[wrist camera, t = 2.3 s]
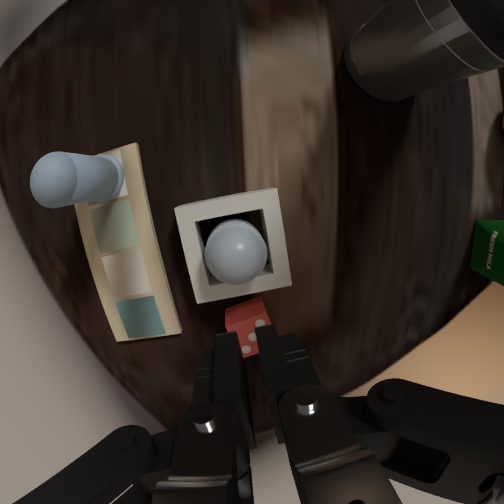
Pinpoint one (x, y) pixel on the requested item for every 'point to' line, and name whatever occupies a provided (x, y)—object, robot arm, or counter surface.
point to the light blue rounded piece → (235, 252)
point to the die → (247, 323)
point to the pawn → (75, 179)
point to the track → (128, 257)
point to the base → (262, 199)
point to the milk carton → (489, 249)
